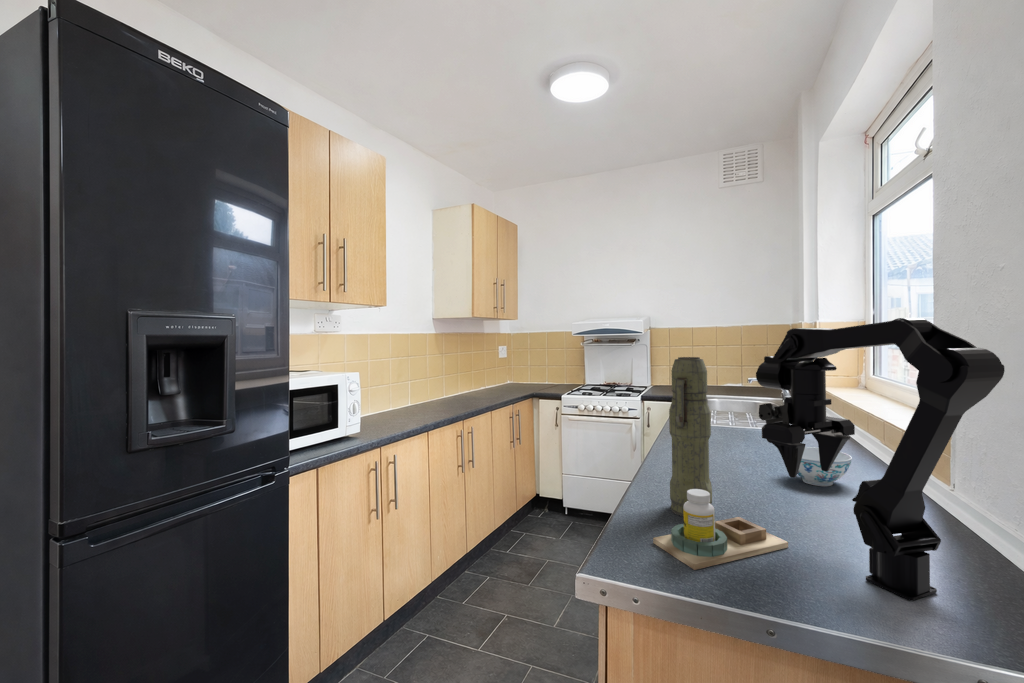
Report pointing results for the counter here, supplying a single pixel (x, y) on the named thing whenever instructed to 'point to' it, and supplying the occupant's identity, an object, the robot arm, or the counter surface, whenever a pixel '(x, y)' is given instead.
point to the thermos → (689, 431)
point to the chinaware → (812, 468)
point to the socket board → (720, 543)
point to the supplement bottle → (699, 516)
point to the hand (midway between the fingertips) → (809, 473)
